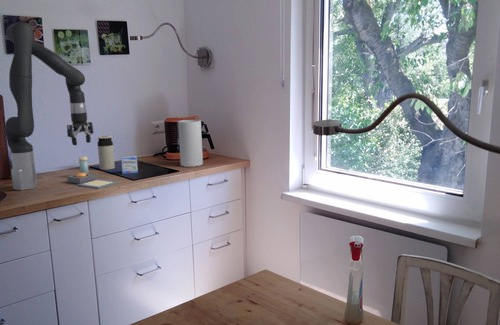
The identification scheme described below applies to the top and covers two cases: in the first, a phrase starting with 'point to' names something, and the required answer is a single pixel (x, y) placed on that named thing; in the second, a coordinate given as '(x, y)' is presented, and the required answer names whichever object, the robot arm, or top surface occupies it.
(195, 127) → the cylinder vase
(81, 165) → the teal bottle
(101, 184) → the picture board
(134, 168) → the medicine box
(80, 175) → the button
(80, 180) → the button housing
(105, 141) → the travel mug
